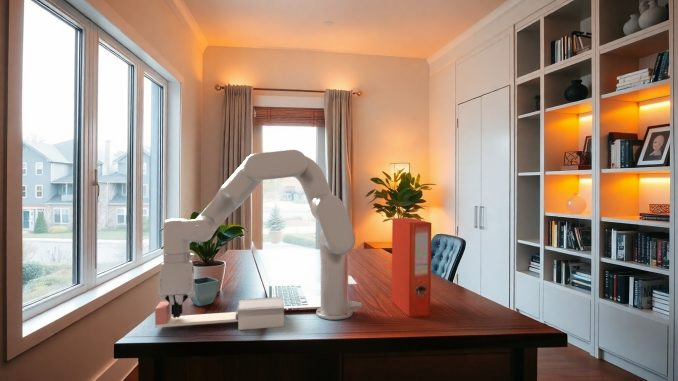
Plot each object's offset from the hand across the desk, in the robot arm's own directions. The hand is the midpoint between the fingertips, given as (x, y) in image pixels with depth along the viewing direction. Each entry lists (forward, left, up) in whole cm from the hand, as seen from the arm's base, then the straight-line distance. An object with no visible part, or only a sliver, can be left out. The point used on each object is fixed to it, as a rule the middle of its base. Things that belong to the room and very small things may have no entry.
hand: (177, 316), depth 124 cm
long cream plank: (-7, 0, -2) cm, 8 cm away
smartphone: (-66, -47, -4) cm, 81 cm away
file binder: (-79, -2, -4) cm, 79 cm away
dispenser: (-26, 0, -4) cm, 26 cm away
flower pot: (-5, -24, -4) cm, 25 cm away
